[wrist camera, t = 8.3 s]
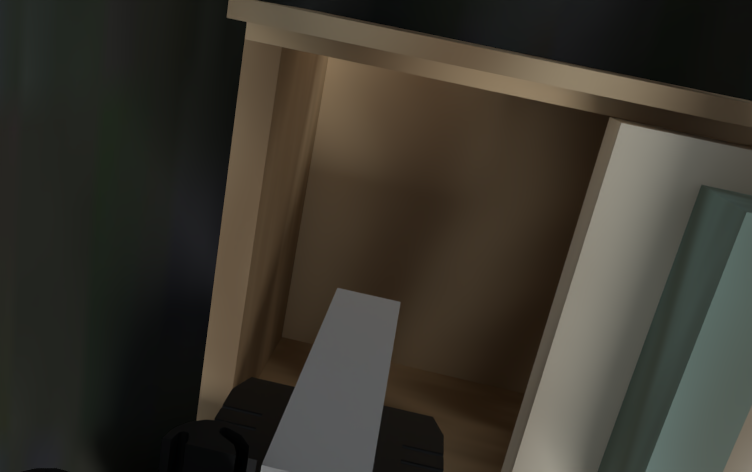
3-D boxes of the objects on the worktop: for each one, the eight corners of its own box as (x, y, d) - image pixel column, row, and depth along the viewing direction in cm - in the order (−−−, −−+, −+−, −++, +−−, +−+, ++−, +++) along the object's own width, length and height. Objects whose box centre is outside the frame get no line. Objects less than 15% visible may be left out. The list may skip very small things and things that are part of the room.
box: (262, 341, 29) (171, 484, 20) (314, 10, 24) (229, -5, 15) (766, 460, 28) (920, 671, 18) (915, 134, 23) (1213, 199, 14)
